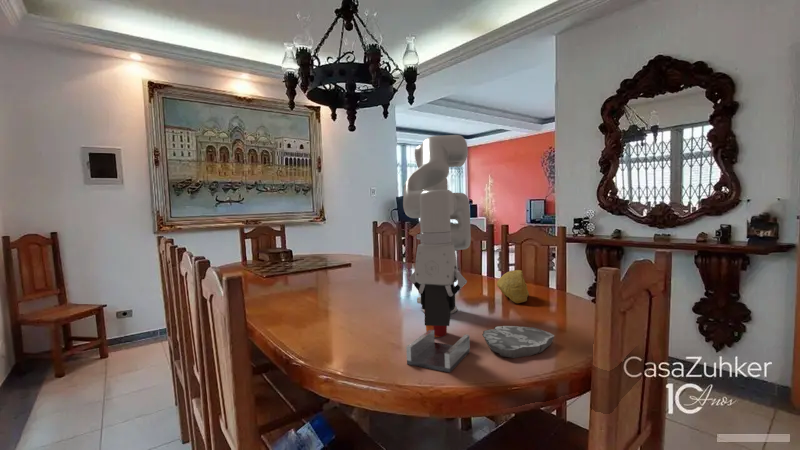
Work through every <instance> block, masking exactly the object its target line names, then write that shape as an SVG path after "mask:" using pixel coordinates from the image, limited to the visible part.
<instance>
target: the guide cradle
mask: <svg viewBox="0 0 800 450" xmlns="http://www.w3.org/2000/svg"><path fill="white" fill-rule="evenodd" d="M470 339H471V338H470V334H464V335H463V336H462V337H460V339H458V340H457V341H456V342H455V343H454V344H449V343H441V342H435V337H434V330H431V329H430V330H429V331H427V332H425V333H423V334H422V335H421V336H419V337H418V338H416V339H415V340H413V341H412V342H411V343H409V344H408V345H407V346H406V365H408V364H409V366H415V367H418V366H419V368H422V369H423V368H425V369H428V368H429V369H428V370H435V371H439V372H443V371H444V373H448V372H449V373H452V371H453V370H454V369H455V368H456V367H457V366H458V365H459V364H460V363H461V362H462V361H463V359H464V358H465V357H466V356H468V354H470V353H471V347H470V346H471V345H470V341H471V340H470ZM449 373H448V374H449Z"/></svg>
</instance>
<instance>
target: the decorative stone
mask: <svg viewBox="0 0 800 450" xmlns="http://www.w3.org/2000/svg"><path fill="white" fill-rule="evenodd" d="M496 286H497V288H498V289H499V291H500V292H501V293H502V294H503V295H504V296H506V297H507V298H509V299H510V301H512V302H514V303H515V304H521V303H525V302H527V301H528V298H529V296H530V291H528V285H527V283H526V279H525V278H524V274H523V270H520V269H516V270H510V271H507V272H506V273H504V274H502V276H501V277H500V278H499V279H498V280H497V282H496Z"/></svg>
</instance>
